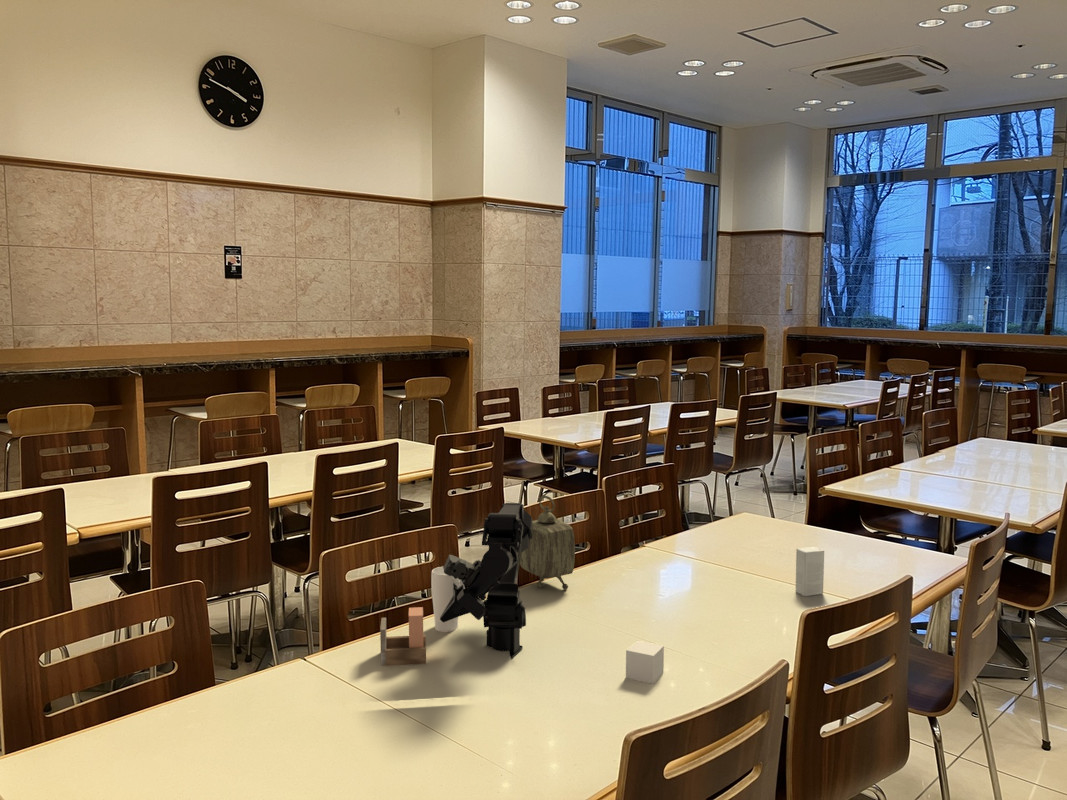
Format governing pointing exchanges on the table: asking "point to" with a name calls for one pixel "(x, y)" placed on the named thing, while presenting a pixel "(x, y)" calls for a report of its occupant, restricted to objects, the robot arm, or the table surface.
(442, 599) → the drinking glass
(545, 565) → the tabletop clock
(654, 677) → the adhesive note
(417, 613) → the salmon pink block
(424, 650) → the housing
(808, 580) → the skincare box
